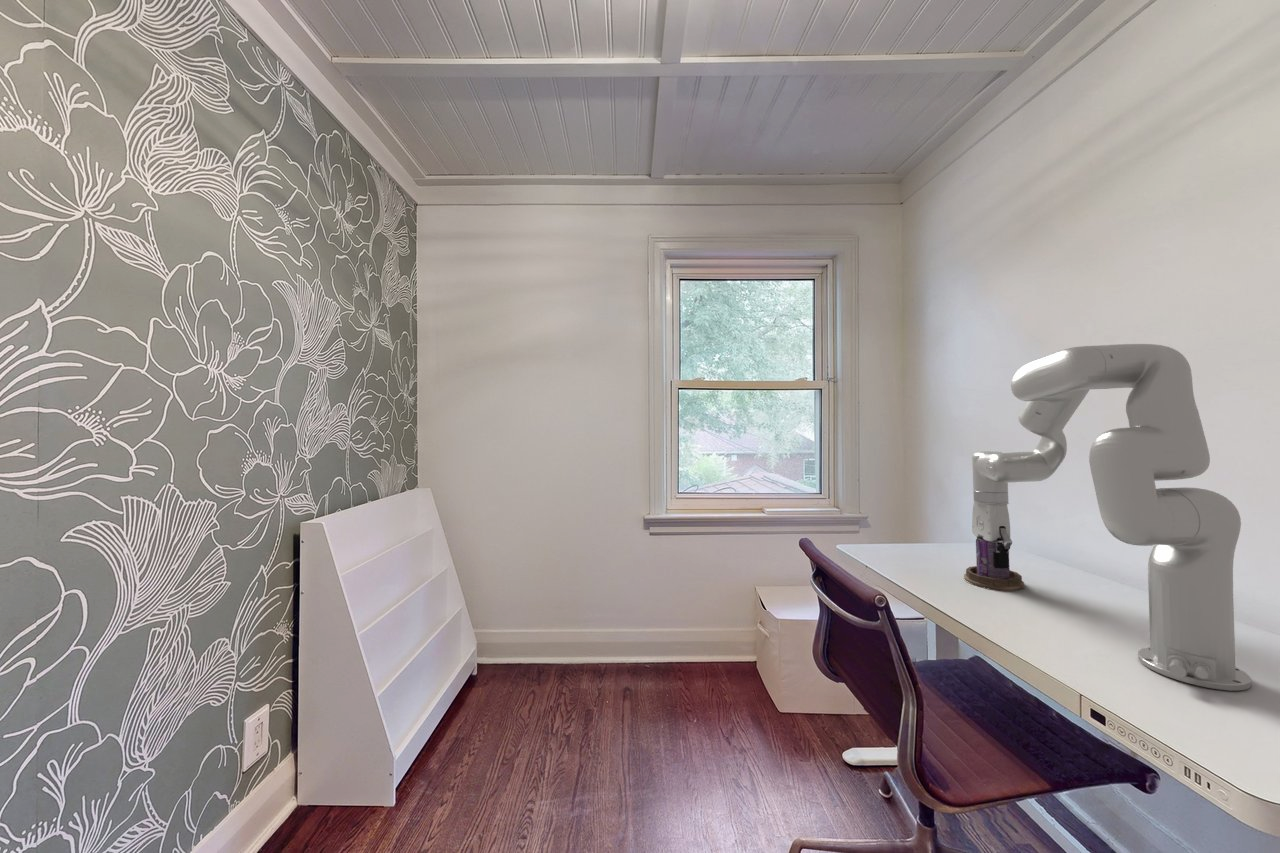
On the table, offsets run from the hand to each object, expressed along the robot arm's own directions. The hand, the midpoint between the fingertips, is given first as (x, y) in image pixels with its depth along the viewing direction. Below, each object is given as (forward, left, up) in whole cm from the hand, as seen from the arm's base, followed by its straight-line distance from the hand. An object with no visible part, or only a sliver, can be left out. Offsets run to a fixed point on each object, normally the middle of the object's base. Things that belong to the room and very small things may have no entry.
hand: (992, 563), depth 126 cm
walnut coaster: (0, 0, -5) cm, 5 cm away
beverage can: (0, 0, -5) cm, 5 cm away
